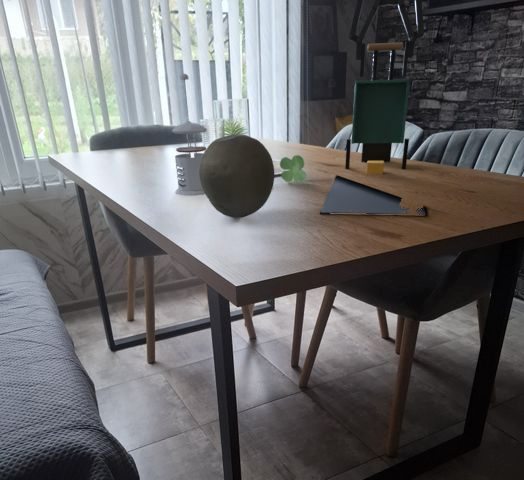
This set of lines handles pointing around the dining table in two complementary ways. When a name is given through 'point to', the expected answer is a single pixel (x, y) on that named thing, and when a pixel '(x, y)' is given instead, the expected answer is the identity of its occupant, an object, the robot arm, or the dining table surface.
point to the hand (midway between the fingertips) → (382, 76)
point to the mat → (361, 199)
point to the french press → (189, 157)
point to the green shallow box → (380, 103)
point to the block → (375, 167)
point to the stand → (376, 152)
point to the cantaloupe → (237, 175)
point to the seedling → (293, 169)
